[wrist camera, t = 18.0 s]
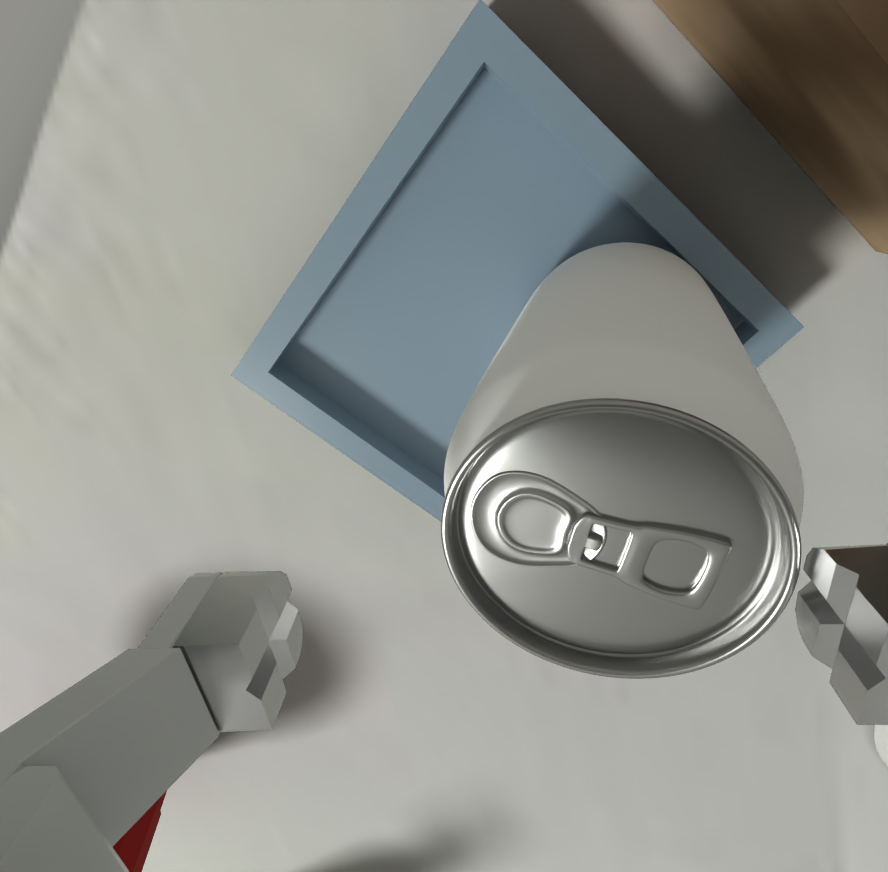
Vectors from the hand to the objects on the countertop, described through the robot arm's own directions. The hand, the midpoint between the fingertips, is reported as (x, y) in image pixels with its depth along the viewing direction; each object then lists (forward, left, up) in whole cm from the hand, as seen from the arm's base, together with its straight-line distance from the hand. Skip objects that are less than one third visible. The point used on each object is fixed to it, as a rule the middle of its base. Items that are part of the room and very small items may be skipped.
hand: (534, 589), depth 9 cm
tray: (0, 0, -14) cm, 14 cm away
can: (-4, -1, -12) cm, 13 cm away
